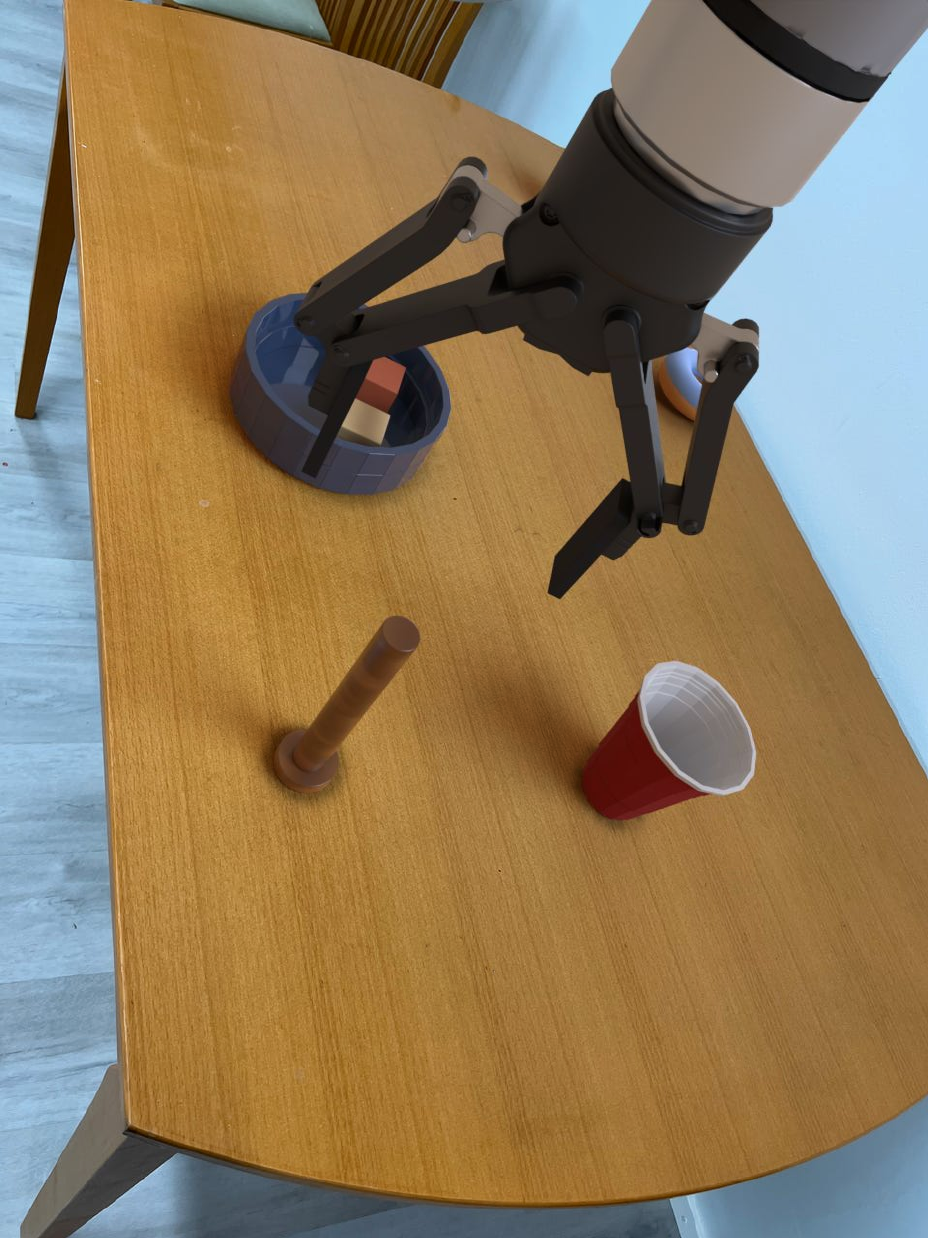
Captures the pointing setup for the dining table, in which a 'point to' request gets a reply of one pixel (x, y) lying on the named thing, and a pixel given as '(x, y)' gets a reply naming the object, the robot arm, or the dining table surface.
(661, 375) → the doughnut
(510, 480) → the dining table surface
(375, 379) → the terracotta block
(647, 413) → the robot arm
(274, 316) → the bowl
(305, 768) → the muddler
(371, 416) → the birch block
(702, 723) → the plastic cup
